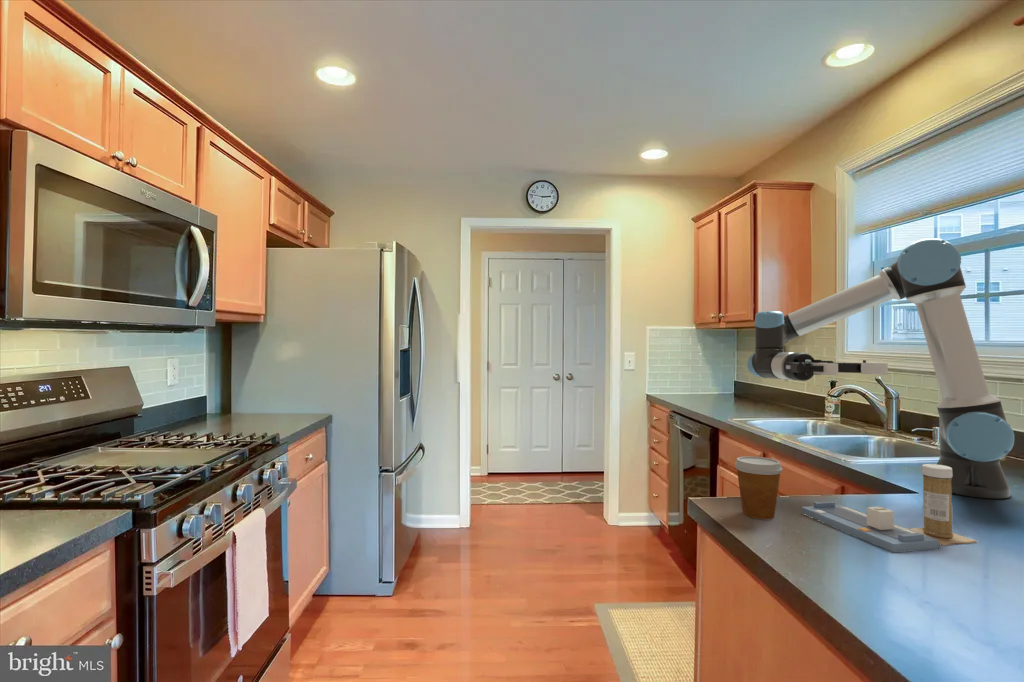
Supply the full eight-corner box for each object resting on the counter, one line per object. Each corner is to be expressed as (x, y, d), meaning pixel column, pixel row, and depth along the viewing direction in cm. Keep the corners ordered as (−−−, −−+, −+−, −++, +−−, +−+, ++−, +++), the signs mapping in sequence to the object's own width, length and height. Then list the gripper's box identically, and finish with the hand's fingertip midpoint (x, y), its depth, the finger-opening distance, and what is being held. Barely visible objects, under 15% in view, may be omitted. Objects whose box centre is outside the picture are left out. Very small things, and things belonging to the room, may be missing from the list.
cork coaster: (934, 527, 104) (934, 526, 104) (976, 542, 96) (976, 540, 96) (901, 530, 102) (901, 529, 102) (942, 545, 94) (942, 543, 94)
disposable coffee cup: (726, 508, 116) (726, 456, 116) (766, 507, 117) (766, 455, 117) (749, 522, 107) (749, 465, 107) (792, 521, 107) (792, 464, 108)
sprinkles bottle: (956, 536, 99) (956, 466, 99) (948, 540, 96) (947, 469, 96) (927, 528, 102) (927, 462, 103) (918, 533, 100) (918, 464, 100)
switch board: (839, 511, 115) (839, 499, 115) (939, 548, 93) (938, 534, 93) (801, 513, 113) (801, 502, 113) (893, 552, 91) (893, 538, 91)
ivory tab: (880, 523, 101) (880, 505, 101) (894, 528, 98) (894, 510, 98) (866, 524, 100) (866, 506, 101) (880, 529, 98) (880, 511, 98)
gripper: (833, 379, 141) (906, 384, 120) (753, 380, 136) (815, 386, 115) (833, 352, 141) (906, 353, 120) (753, 352, 136) (815, 353, 115)
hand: (862, 369), depth 117 cm, fingers open, 13 cm apart
